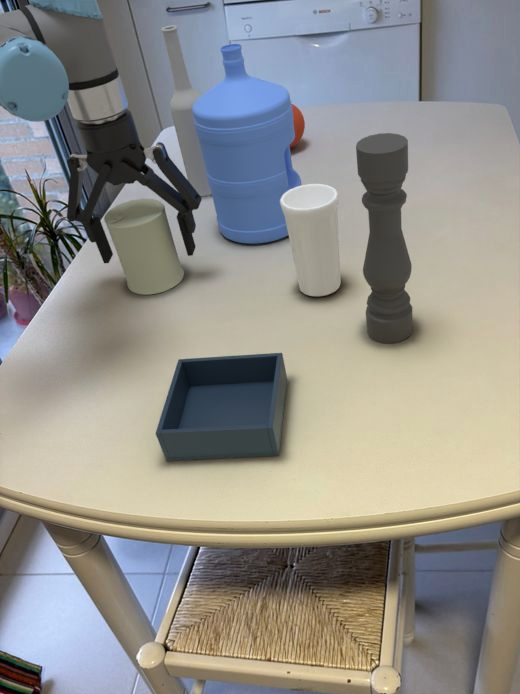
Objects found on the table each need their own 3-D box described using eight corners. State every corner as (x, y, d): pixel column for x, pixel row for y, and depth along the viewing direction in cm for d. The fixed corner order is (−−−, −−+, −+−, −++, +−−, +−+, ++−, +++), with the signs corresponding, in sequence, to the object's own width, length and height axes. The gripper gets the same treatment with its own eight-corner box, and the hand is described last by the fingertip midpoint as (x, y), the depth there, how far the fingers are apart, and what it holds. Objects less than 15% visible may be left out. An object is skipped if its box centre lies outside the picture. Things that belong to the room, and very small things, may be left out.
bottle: (230, 187, 127) (195, 24, 108) (202, 199, 125) (161, 34, 105) (212, 178, 131) (175, 20, 112) (184, 190, 129) (142, 30, 109)
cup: (358, 283, 97) (350, 192, 87) (319, 308, 94) (307, 216, 84) (320, 267, 102) (309, 178, 92) (282, 290, 98) (267, 200, 88)
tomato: (253, 147, 141) (244, 98, 134) (296, 135, 143) (289, 86, 136) (270, 162, 134) (262, 111, 127) (315, 149, 136) (309, 98, 129)
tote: (166, 461, 75) (155, 433, 72) (187, 386, 84) (178, 359, 81) (279, 455, 73) (272, 427, 70) (287, 380, 83) (282, 352, 80)
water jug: (246, 256, 107) (206, 71, 88) (204, 224, 117) (161, 51, 98) (324, 223, 112) (303, 41, 93) (278, 195, 122) (251, 26, 103)
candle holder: (375, 314, 91) (364, 131, 74) (418, 319, 89) (416, 133, 72) (361, 340, 87) (345, 153, 70) (405, 346, 85) (401, 155, 68)
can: (117, 281, 106) (91, 212, 97) (165, 258, 109) (144, 189, 101) (146, 301, 100) (121, 230, 92) (195, 276, 104) (175, 205, 96)
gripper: (197, 94, 88) (230, 236, 103) (25, 114, 91) (81, 249, 106) (187, 114, 83) (223, 260, 98) (4, 135, 86) (67, 274, 101)
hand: (150, 255), depth 102 cm, fingers open, 13 cm apart
